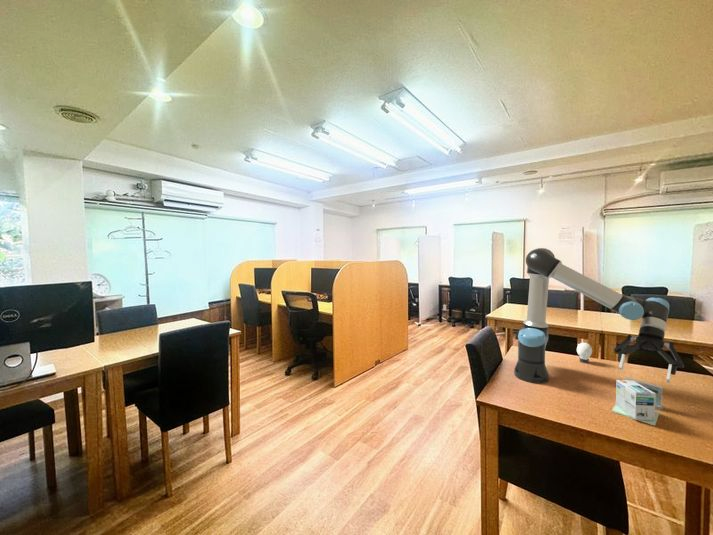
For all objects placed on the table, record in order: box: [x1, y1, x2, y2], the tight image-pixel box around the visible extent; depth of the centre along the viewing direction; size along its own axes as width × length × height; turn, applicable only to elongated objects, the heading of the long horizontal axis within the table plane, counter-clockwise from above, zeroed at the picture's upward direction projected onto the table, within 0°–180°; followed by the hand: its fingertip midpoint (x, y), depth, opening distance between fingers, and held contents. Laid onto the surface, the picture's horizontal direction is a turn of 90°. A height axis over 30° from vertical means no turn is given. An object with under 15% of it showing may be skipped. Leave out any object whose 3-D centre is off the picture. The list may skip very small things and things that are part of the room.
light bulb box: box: [615, 379, 656, 421], centre depth 112 cm, size 11×7×11 cm, turn 171°
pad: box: [611, 404, 660, 426], centre depth 113 cm, size 12×11×1 cm
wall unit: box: [623, 376, 664, 411], centre depth 119 cm, size 12×3×9 cm, turn 38°
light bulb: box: [576, 342, 593, 364], centre depth 161 cm, size 7×7×11 cm
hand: (643, 374), depth 115 cm, fingers open, 13 cm apart
